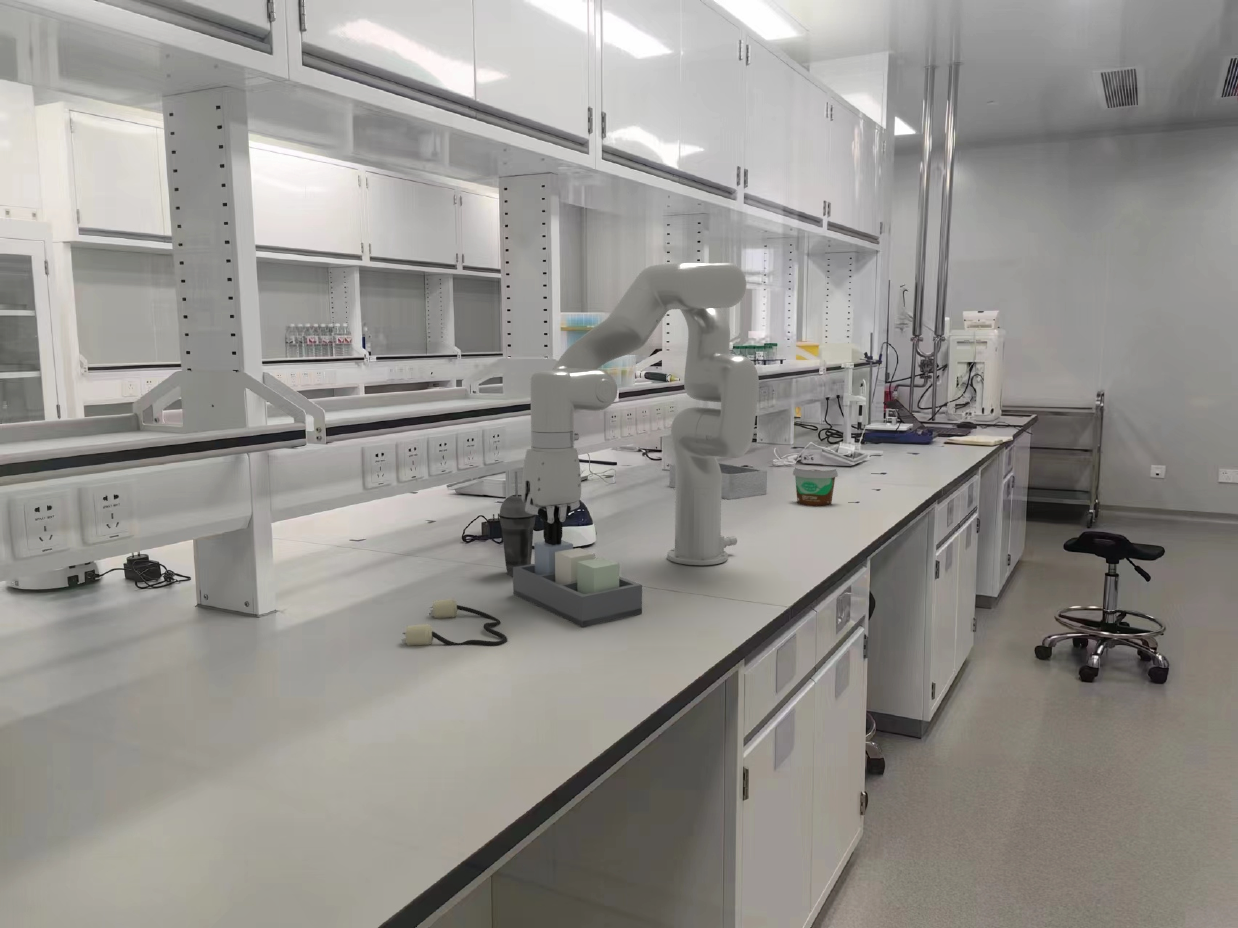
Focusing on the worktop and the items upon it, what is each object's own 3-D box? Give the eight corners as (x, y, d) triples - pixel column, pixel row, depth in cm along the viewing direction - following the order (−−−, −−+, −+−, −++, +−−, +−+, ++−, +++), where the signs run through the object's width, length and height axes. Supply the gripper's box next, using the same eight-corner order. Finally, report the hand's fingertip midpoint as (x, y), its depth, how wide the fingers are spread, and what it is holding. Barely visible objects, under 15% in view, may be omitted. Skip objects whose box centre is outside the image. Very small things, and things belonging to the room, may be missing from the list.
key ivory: (579, 580, 156) (579, 547, 155) (595, 587, 152) (595, 553, 151) (555, 585, 153) (555, 551, 152) (570, 592, 149) (570, 557, 148)
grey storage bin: (705, 482, 282) (706, 460, 281) (766, 494, 261) (767, 470, 260) (669, 486, 274) (669, 464, 273) (729, 499, 252) (729, 475, 251)
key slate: (558, 570, 161) (558, 538, 161) (573, 576, 157) (573, 543, 157) (534, 574, 159) (534, 542, 158) (549, 581, 155) (549, 547, 154)
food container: (789, 505, 243) (790, 469, 242) (791, 501, 249) (793, 466, 248) (835, 508, 240) (836, 471, 238) (836, 504, 245) (838, 468, 244)
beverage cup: (502, 579, 168) (500, 475, 166) (497, 569, 175) (495, 470, 173) (540, 576, 170) (538, 474, 168) (533, 567, 177) (532, 468, 174)
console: (569, 583, 165) (569, 557, 165) (642, 613, 147) (642, 584, 147) (513, 594, 158) (512, 567, 158) (582, 627, 140) (582, 597, 140)
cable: (522, 617, 147) (522, 597, 146) (502, 652, 131) (502, 630, 130) (430, 615, 148) (430, 595, 148) (399, 649, 132) (399, 627, 131)
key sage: (601, 591, 150) (601, 557, 149) (619, 598, 146) (619, 563, 145) (577, 596, 147) (577, 561, 147) (594, 603, 143) (594, 568, 143)
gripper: (576, 436, 162) (576, 534, 164) (504, 441, 153) (505, 544, 156) (599, 440, 156) (599, 541, 158) (526, 446, 147) (527, 553, 150)
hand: (553, 543), depth 157 cm, fingers closed
